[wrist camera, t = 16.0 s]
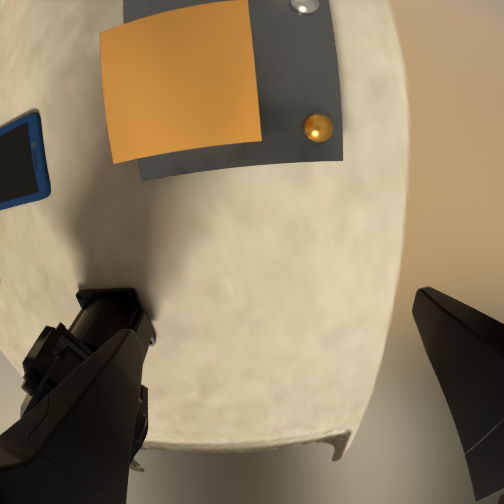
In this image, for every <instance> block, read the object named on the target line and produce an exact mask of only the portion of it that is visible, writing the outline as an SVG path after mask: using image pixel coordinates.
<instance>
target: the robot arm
mask: <svg viewBox="0 0 504 504" xmlns="http://www.w3.org/2000/svg"><path fill="white" fill-rule="evenodd" d="M129 293H131V294H132V295H130V294H129ZM76 298H77V300H78V302H79V304H80V306H81V308H82V309H81V311H80V312H79V314H78V315H77V317H76V318H75V320H74V321H73V323H72V325H71V326H70V328H69V329H68V330H67V329H66V328H65V326H64V325H63V324H62V323H61V322H60V323H59V325H58V326H57V327H56V328H54V327H50V326H46V327H45V328H44V330H43V331H42V333H41V334H40V336H39V337H38V339H37V340H36V342H35V343H34V345H33V346H32V348H31V350H30V351H29V353H28V354H27V356H26V358H25V359H24V361H23V363H22V364H23V368H24V373H25V374H24V376H23V378H24V382H23V384H22V386H21V388H22V389H23V390H24V391H25V392H27V393H28V394H27V395H26V398H25V399H24V401H23V403H22V405H21V414H20V415H21V416H20V417H21V418H20V420H19V421H17V422H16V423H15V424H13V425H12V426H11V427H10V428H9V429H8V430H6V431H5V432H3V433H2V434H1V435H0V504H126V497H127V486H128V475H129V466H130V464H131V462H132V460H133V458H134V456H135V455H136V453H137V452H138V451H139V449H140V448H141V447H142V444H143V442H144V440H145V438H146V435H147V431H148V388H147V387H145V386H143V385H141V380H142V368H143V363H144V359H145V356H146V353H147V350H148V347H149V346H154V345H155V342H156V339H155V336H154V334H153V333H154V332H153V329H152V327H151V324H150V322H149V319H148V317H147V314H146V312H145V311H144V310H143V307H142V305H141V302H140V300H139V297H138V294H137V292H136V290H134V289H133V288H118V289H97V290H79V291H78V292H77V293H76ZM412 313H413V317H414V320H415V323H416V325H417V328H418V330H419V333H420V336H421V339H422V342H423V345H424V347H425V350H426V353H427V355H428V358H429V360H430V362H431V364H432V367H433V369H434V371H435V374H436V376H437V378H438V381H439V383H440V386H441V388H442V390H443V393H444V395H445V398H446V401H447V403H448V406H449V409H450V411H451V414H452V416H453V420H454V422H455V425H456V428H457V431H458V434H459V437H460V440H461V444H462V447H463V451H464V454H465V458H466V462H467V465H468V469H469V473H470V477H471V482H472V486H473V491H474V495H475V499H476V502H478V501H480V500H483V499H484V498H487V497H489V496H491V495H493V494H495V493H497V492H498V491H500V490H502V489H504V324H503V323H500V322H499V321H497V320H495V319H493V318H491V317H489V316H487V315H486V314H484V313H482V312H480V311H478V310H476V309H474V308H472V307H470V306H468V305H466V304H464V303H462V302H460V301H458V300H456V299H454V298H452V297H450V296H448V295H446V294H444V293H441V292H440V291H437V290H435V289H433V288H431V287H423V288H420V289H418V290H417V292H416V295H415V300H414V304H413V308H412ZM498 504H504V493H503V494H502V495H501V496H500V499H499V502H498Z"/></svg>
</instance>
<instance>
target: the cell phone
mask: <svg viewBox="0 0 504 504" xmlns="http://www.w3.org/2000/svg"><path fill="white" fill-rule="evenodd" d="M50 193H51V186H50V180H49V175H48V169H47V164H46V158H45V151H44V144H43V136H42V127H41V119H40V116H39V114H38V113H31V114H29V115H27V116H24V117H22V118H20V119H18V120H16V121H14V122H13V123H11V124H9V125H7V126H5V127H4V128H2V129H0V210H3V209H7V208H10V207H14V206H18V205H22V204H26V203H30V202H34V201H38V200H41V199H44V198H46V197H48V196H49V195H50Z"/></svg>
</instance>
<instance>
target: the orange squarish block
mask: <svg viewBox="0 0 504 504" xmlns="http://www.w3.org/2000/svg"><path fill="white" fill-rule="evenodd" d="M100 54H101V72H102V85H103V95H104V104H105V113H106V120H107V128H108V134H109V141H110V147H111V152H112V158H113V163H114V164H116V163H120V162H124V161H129V160H133V159H138V158H143V157H148V156H153V155H158V154H164V153H169V152H175V151H181V150H188V149H194V148H201V147H209V146H216V145H225V144H234V143H244V142H255V141H262V138H261V127H260V115H259V104H258V94H257V83H256V73H255V63H254V53H253V44H252V35H251V25H250V17H249V8H248V0H232V1H223V2H215V3H208V4H202V5H196V6H190V7H185V8H180V9H176V10H171V11H167V12H163V13H159V14H155V15H152V16H148V17H145V18H141V19H138V20H135V21H132V22H129V23H126V24H123V25H120V26H117V27H114V28H112V29H109V30H106V31H104V32H101V33H100Z"/></svg>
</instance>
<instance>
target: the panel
mask: <svg viewBox="0 0 504 504" xmlns="http://www.w3.org/2000/svg"><path fill="white" fill-rule="evenodd" d="M223 1H232V0H123V15H124V24H126V23H129V22H132V21H135V20H138V19H141V18H145V17H148V16H152V15H155V14H159V13H163V12H167V11H171V10H176V9H180V8H185V7H190V6H196V5H202V4H208V3H215V2H223ZM248 8H249V17H250V25H251V35H252V44H253V53H254V63H255V73H256V83H257V94H258V104H259V115H260V127H261V138H262V141H255V142H244V143H234V144H225V145H216V146H209V147H201V148H194V149H188V150H181V151H175V152H169V153H164V154H158V155H153V156H148V157H143V158H138V162H139V167H140V173H141V178H142V181H145V180H150V179H156V178H162V177H168V176H174V175H180V174H187V173H194V172H201V171H209V170H217V169H225V168H234V167H244V166H254V165H266V164H279V163H295V162H316V161H343V135H342V114H341V98H340V85H339V74H338V64H337V55H336V47H335V40H334V32H333V26H332V19H331V13H330V8H329V2H328V0H248Z"/></svg>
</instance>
